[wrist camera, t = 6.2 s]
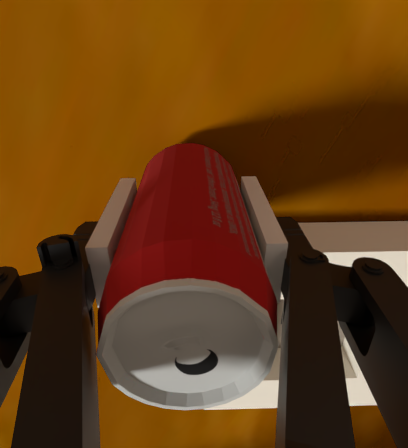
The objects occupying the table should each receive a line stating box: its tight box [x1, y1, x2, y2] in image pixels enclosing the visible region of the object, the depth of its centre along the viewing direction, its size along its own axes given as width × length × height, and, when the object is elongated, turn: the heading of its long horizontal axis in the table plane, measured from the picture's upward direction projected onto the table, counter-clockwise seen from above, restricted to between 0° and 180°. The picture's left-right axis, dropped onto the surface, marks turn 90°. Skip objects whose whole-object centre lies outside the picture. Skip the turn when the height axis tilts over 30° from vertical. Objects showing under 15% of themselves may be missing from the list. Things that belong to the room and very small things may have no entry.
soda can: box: [96, 143, 279, 410], centre depth 14 cm, size 6×6×12 cm
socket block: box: [204, 221, 408, 410], centre depth 24 cm, size 15×15×4 cm
